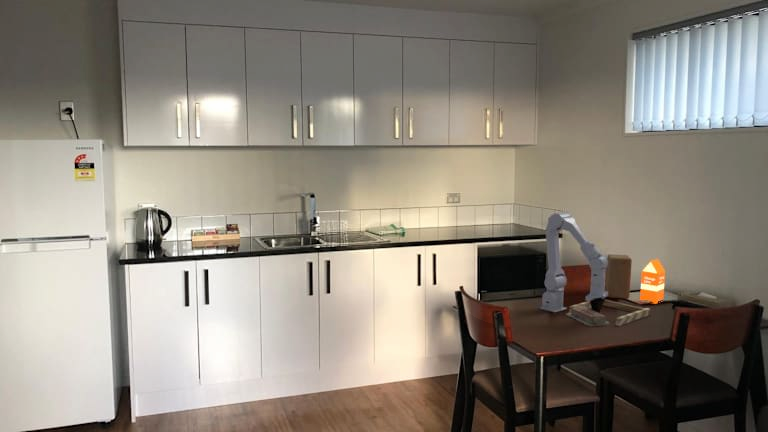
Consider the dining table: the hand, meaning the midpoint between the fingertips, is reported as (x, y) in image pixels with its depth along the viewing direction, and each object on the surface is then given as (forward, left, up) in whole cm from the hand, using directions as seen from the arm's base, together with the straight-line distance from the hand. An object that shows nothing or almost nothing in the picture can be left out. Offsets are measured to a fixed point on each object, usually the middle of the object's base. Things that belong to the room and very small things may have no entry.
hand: (596, 314), depth 269 cm
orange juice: (+49, 0, -2) cm, 49 cm away
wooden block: (+44, +15, -2) cm, 46 cm away
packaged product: (-5, +1, -2) cm, 5 cm away
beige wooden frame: (+11, 0, -2) cm, 11 cm away
